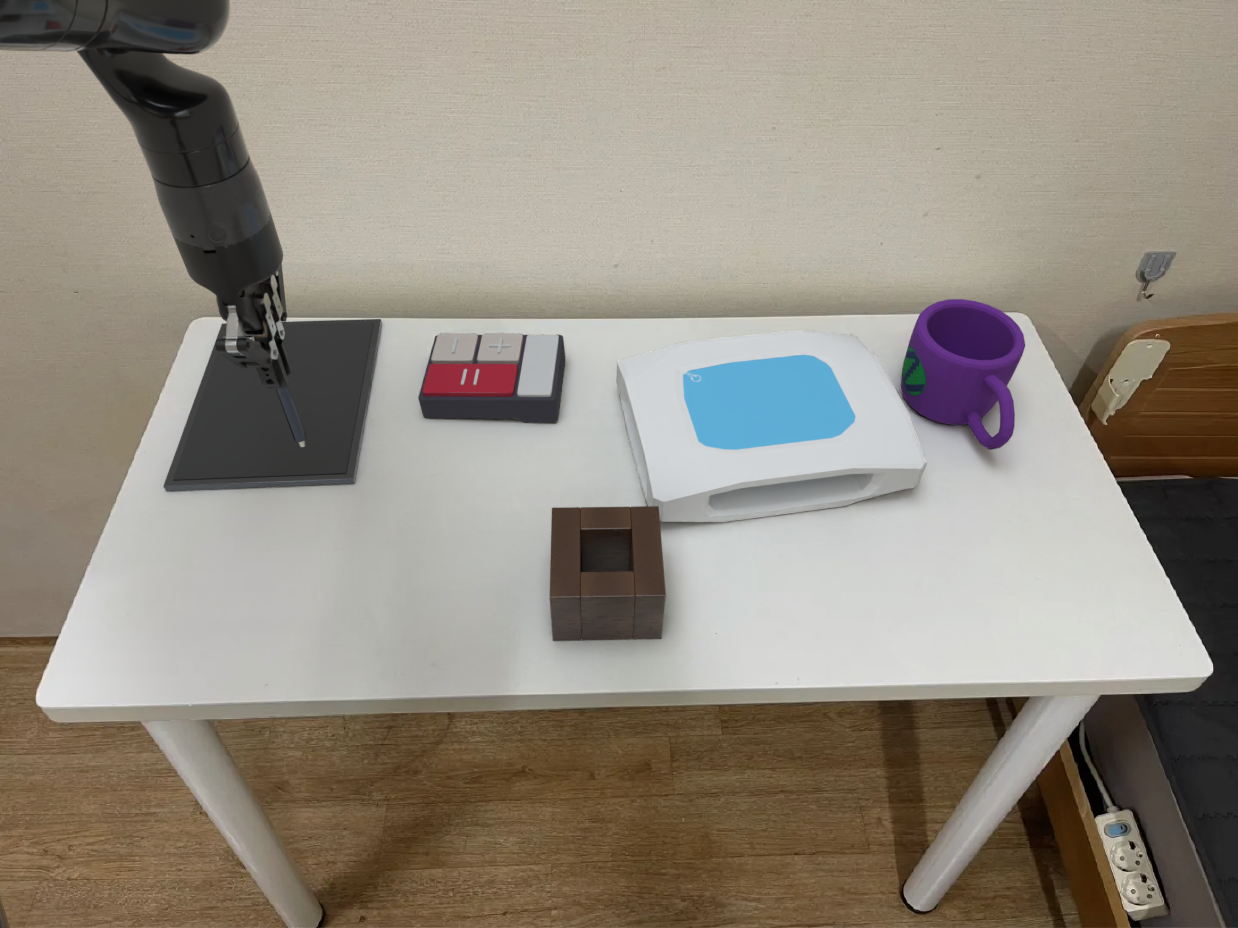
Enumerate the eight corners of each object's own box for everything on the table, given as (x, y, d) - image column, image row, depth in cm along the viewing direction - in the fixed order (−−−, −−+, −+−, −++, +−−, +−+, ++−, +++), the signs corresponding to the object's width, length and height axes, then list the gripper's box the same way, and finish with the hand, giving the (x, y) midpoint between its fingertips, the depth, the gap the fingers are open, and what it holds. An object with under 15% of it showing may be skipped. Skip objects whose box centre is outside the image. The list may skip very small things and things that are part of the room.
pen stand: (552, 641, 80) (549, 597, 74) (554, 552, 86) (551, 507, 81) (661, 639, 80) (665, 595, 75) (655, 551, 87) (658, 505, 81)
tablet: (354, 484, 92) (352, 478, 91) (165, 491, 90) (162, 485, 90) (382, 323, 109) (380, 317, 108) (223, 328, 108) (221, 322, 107)
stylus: (298, 450, 89) (258, 342, 78) (295, 443, 89) (255, 335, 79) (310, 446, 89) (272, 338, 79) (307, 439, 90) (269, 331, 79)
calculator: (434, 328, 103) (563, 328, 102) (440, 357, 106) (566, 357, 105) (415, 394, 95) (554, 394, 95) (423, 422, 99) (558, 423, 98)
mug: (878, 370, 105) (900, 302, 97) (967, 359, 106) (995, 291, 99) (941, 480, 93) (971, 412, 86) (1040, 466, 95) (1077, 398, 88)
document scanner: (917, 497, 92) (934, 456, 87) (652, 532, 88) (655, 492, 83) (846, 363, 106) (858, 321, 101) (615, 389, 102) (616, 347, 97)
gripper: (195, 170, 74) (254, 332, 87) (143, 267, 65) (218, 432, 78) (286, 170, 74) (332, 331, 87) (247, 267, 65) (305, 431, 78)
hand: (278, 378), depth 82 cm, fingers closed on stylus, 1 cm apart
